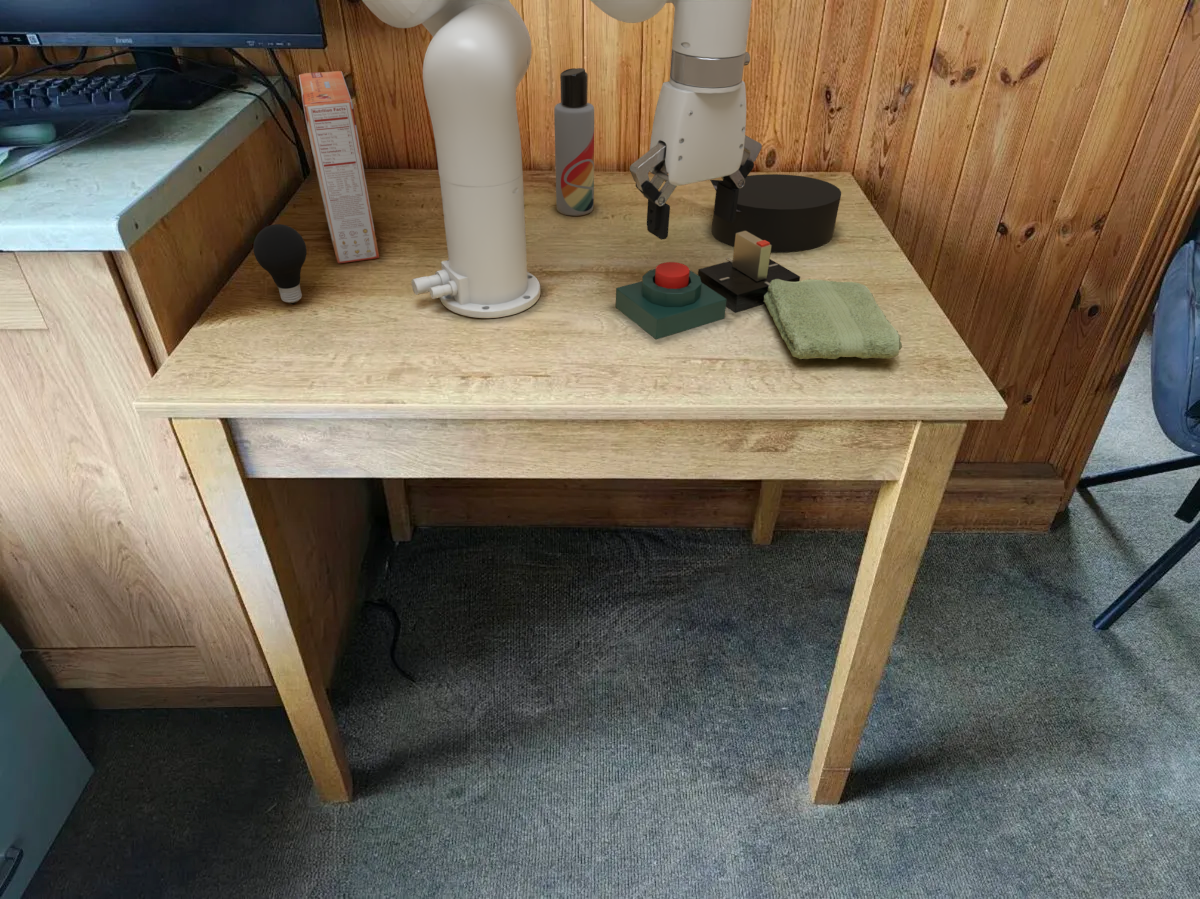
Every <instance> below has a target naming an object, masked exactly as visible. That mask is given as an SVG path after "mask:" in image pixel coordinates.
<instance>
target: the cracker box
mask: <svg viewBox="0 0 1200 899" xmlns="http://www.w3.org/2000/svg"><path fill="white" fill-rule="evenodd" d="M298 80H299V85H300V93H301V100H302V101H301V102H302V106H303V112H304V118H305V124H306V129H307V134H308V137H309V143H310V147H311V152H312V157H313V162H314V168H315V172H316V175H317V181H318V185H319V190H320V194H321V198H322V202H323V207H324V212H325V217H326V222H327V225H328V230H329V234H330V238H331V243H332V247H333V251H334V254H335V258H336V261H337V264H347V263H353V262H360V261H366V260H375V259H379V258H380V254H379V247H378V242H377V237H376V236H377V235H376V232H375V225H374V220H373V214H372V208H371V204H370V197H369V191H368V186H367V180H366V173H365V168H364V164H363V156H362V150H361V146H360V138H359V133H358V127H357V120H356V115H355V109H354V104H353V99H352V98H351V95H350V92H349V88H348V86H347V83H346V79H345V77H344V73H343V72H342V70H334V71H322V72H321V71H320V72H319V71H314V72H313V71H312V72H304V73H301V74H299V75H298Z"/></svg>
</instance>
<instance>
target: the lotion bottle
mask: <svg viewBox="0 0 1200 899" xmlns="http://www.w3.org/2000/svg"><path fill="white" fill-rule="evenodd" d="M559 78H560V79H559V80H560V102H559V103H556V104H555V105H554V109H553V110H554V111H553V115H554V117H553V118H554V119H553V121H554V160H555V161H554V163H555V166H554V167H555V203H556V204H555V205H556V210H557V211H558V213H560V214H562V215H565V216H570V217H580V216H585V215H588V214H591V213H592V212H593V211H594V207H595V206H594V204H595V106H594V105H593V104H592V103H590V102H588V101H589V100H588V88H589V87H588V84H589V83H588V82H589V75H588V73H587V71H586V69H585V68H582V67H576V68H575V67H574V68H573V67H572V68H568V69H565V70H563V71H562V72H561V73H560V75H559Z"/></svg>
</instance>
